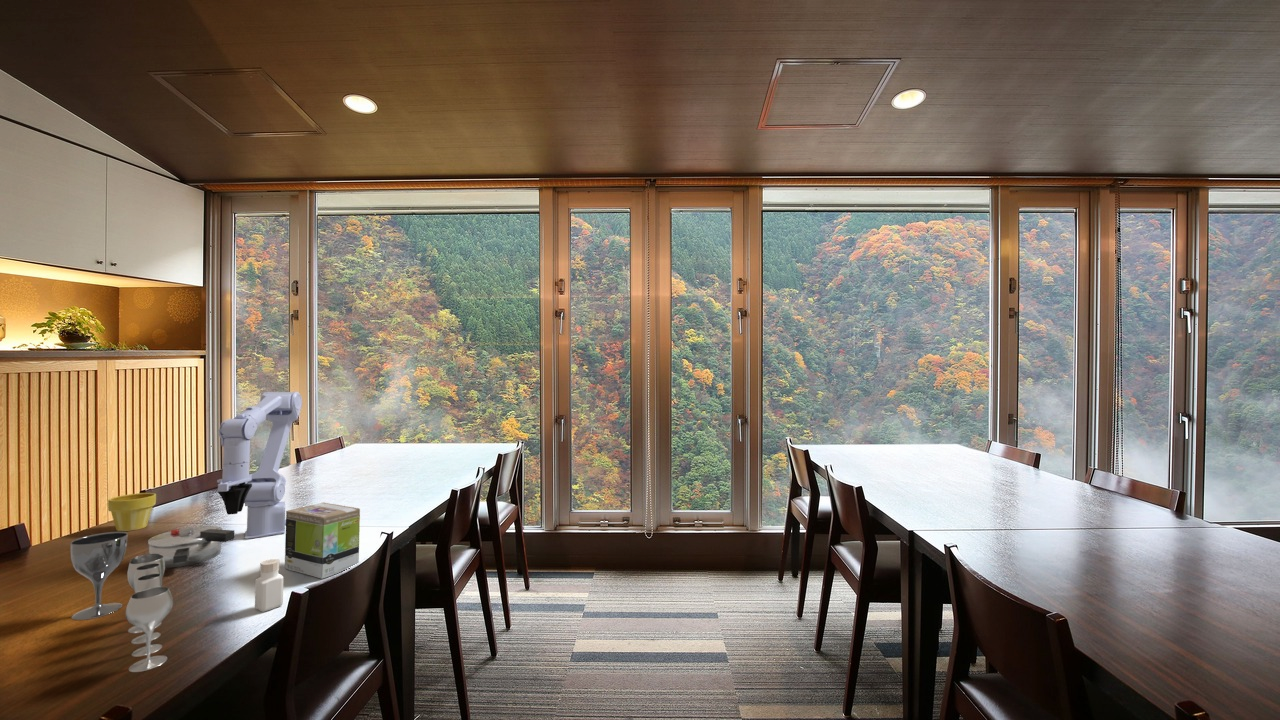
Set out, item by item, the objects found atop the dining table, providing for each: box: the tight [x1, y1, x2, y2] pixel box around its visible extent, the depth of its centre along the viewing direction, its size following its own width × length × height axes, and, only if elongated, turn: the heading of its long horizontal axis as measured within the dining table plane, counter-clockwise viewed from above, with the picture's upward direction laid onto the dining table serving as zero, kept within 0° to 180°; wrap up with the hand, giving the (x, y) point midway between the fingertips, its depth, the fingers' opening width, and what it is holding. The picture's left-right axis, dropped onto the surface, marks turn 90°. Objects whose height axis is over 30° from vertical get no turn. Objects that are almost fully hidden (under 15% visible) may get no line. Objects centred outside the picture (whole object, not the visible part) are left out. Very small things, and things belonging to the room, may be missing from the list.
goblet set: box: [125, 553, 174, 673], centre depth 93 cm, size 28×6×13 cm, turn 46°
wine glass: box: [70, 531, 128, 621], centre depth 103 cm, size 8×8×15 cm
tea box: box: [284, 502, 361, 580], centre depth 126 cm, size 15×10×15 cm
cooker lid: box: [147, 525, 235, 547], centre depth 131 cm, size 20×14×2 cm
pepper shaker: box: [254, 558, 284, 613], centre depth 105 cm, size 4×4×10 cm
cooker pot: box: [148, 541, 222, 569], centre depth 129 cm, size 20×14×5 cm
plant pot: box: [107, 492, 157, 532], centre depth 155 cm, size 10×10×10 cm
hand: (234, 512), depth 137 cm, fingers closed
